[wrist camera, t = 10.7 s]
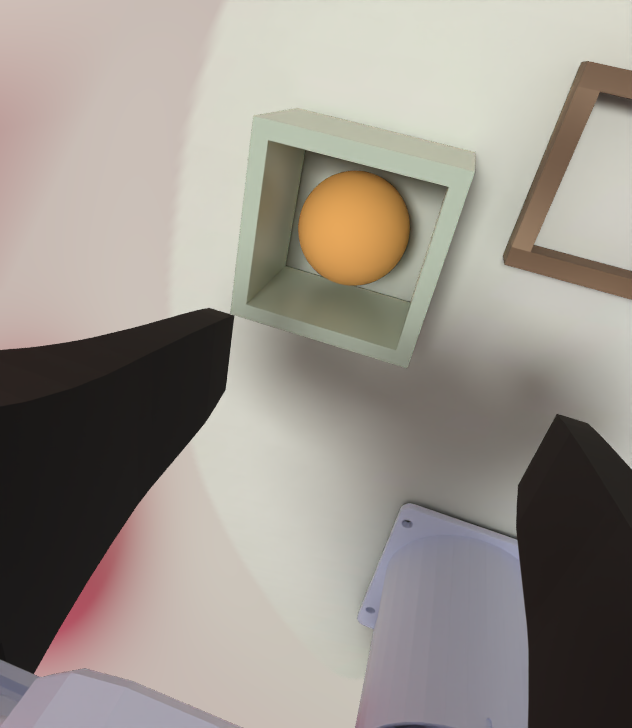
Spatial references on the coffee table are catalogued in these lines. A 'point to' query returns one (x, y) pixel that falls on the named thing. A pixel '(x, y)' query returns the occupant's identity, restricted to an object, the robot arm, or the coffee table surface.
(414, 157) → the sage open box
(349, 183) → the orange ball
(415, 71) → the coffee table surface
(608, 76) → the rack
